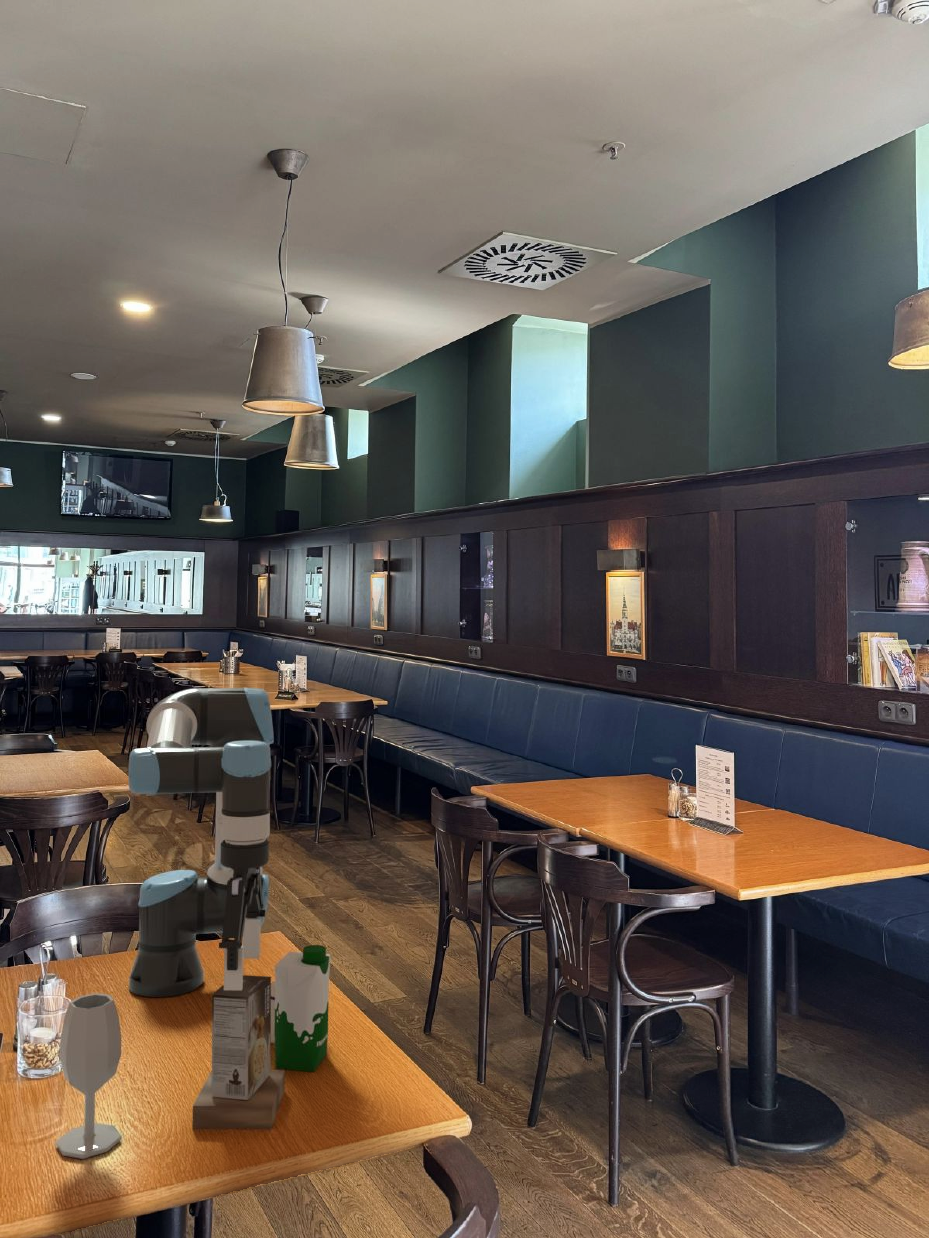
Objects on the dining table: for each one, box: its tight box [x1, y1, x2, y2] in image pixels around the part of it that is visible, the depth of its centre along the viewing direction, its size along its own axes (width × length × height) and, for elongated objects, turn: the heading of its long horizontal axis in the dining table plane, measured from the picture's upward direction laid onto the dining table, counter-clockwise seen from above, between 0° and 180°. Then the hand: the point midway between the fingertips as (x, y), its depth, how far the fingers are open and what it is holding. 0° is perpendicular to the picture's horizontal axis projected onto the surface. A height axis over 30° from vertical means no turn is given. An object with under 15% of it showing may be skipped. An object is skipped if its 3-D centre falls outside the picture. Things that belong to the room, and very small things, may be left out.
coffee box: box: [211, 974, 272, 1100], centre depth 152 cm, size 9×6×16 cm
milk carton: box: [274, 944, 332, 1073], centre depth 169 cm, size 9×9×20 cm
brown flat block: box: [191, 1069, 286, 1130], centre depth 152 cm, size 12×12×4 cm
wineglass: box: [55, 992, 123, 1160], centre depth 141 cm, size 9×9×21 cm
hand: (242, 973), depth 152 cm, fingers open, 13 cm apart
